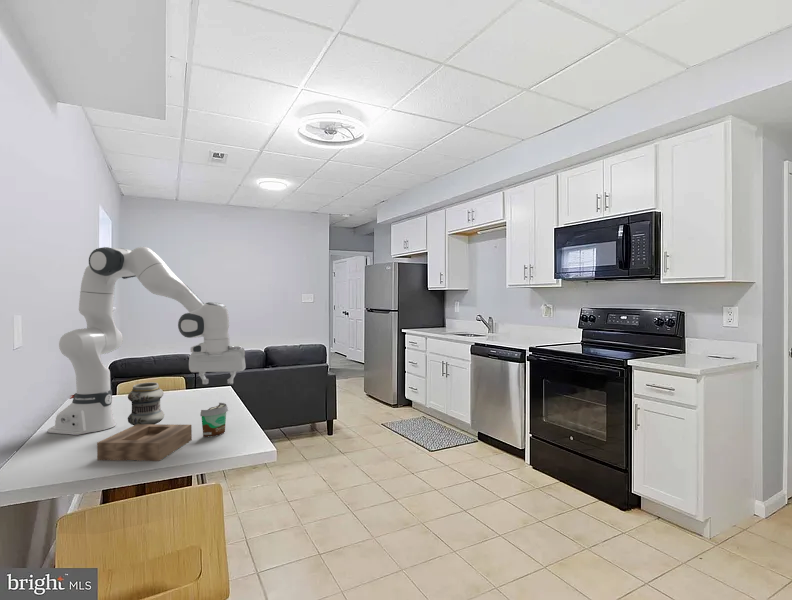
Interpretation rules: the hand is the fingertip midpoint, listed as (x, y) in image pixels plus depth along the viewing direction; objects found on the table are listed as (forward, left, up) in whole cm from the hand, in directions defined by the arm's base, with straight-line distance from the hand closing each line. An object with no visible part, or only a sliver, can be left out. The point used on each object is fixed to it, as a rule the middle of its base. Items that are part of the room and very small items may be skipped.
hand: (218, 383), depth 170 cm
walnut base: (-16, -18, -18) cm, 30 cm away
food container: (0, 0, -19) cm, 19 cm away
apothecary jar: (-28, +1, -19) cm, 34 cm away
